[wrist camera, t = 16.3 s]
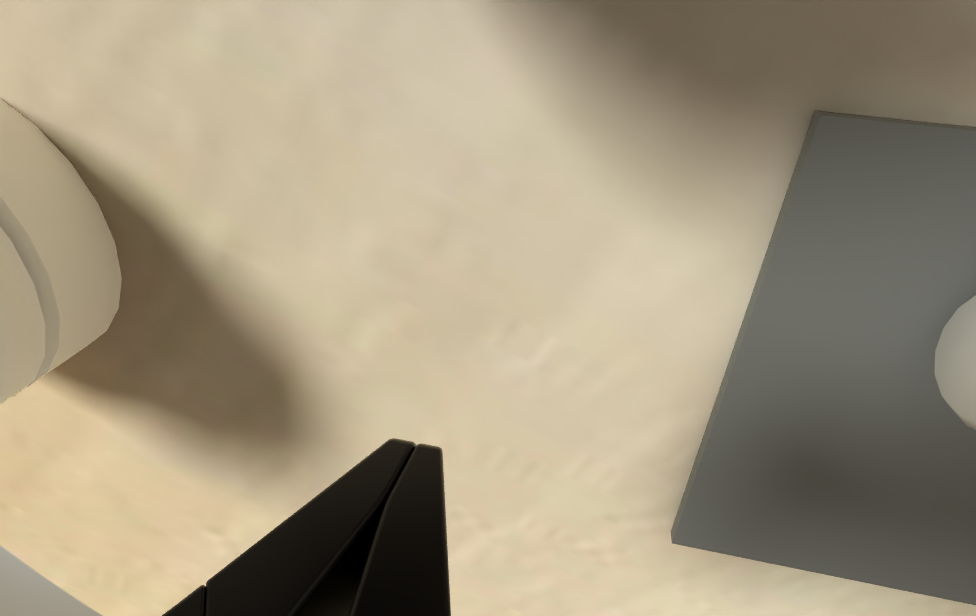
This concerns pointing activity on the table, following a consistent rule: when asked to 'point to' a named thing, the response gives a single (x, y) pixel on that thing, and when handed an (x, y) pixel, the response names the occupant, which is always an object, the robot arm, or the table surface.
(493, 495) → the table surface
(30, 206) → the honey pot
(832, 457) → the rubber mat
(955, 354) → the rook chess piece
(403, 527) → the robot arm
